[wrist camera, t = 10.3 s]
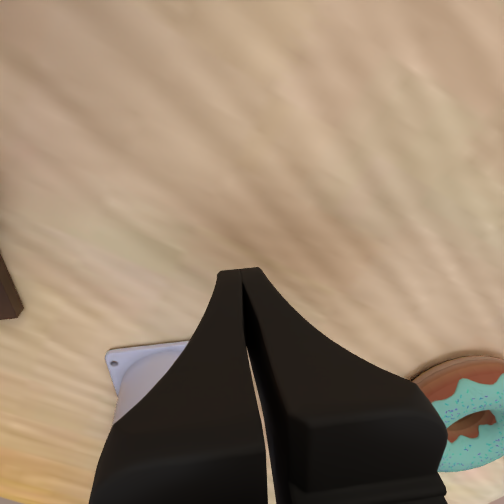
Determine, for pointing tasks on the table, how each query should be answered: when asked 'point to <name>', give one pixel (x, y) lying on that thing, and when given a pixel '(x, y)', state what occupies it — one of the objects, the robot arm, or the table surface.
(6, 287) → the board
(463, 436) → the donut
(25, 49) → the table surface
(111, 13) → the table surface
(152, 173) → the table surface
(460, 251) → the table surface
